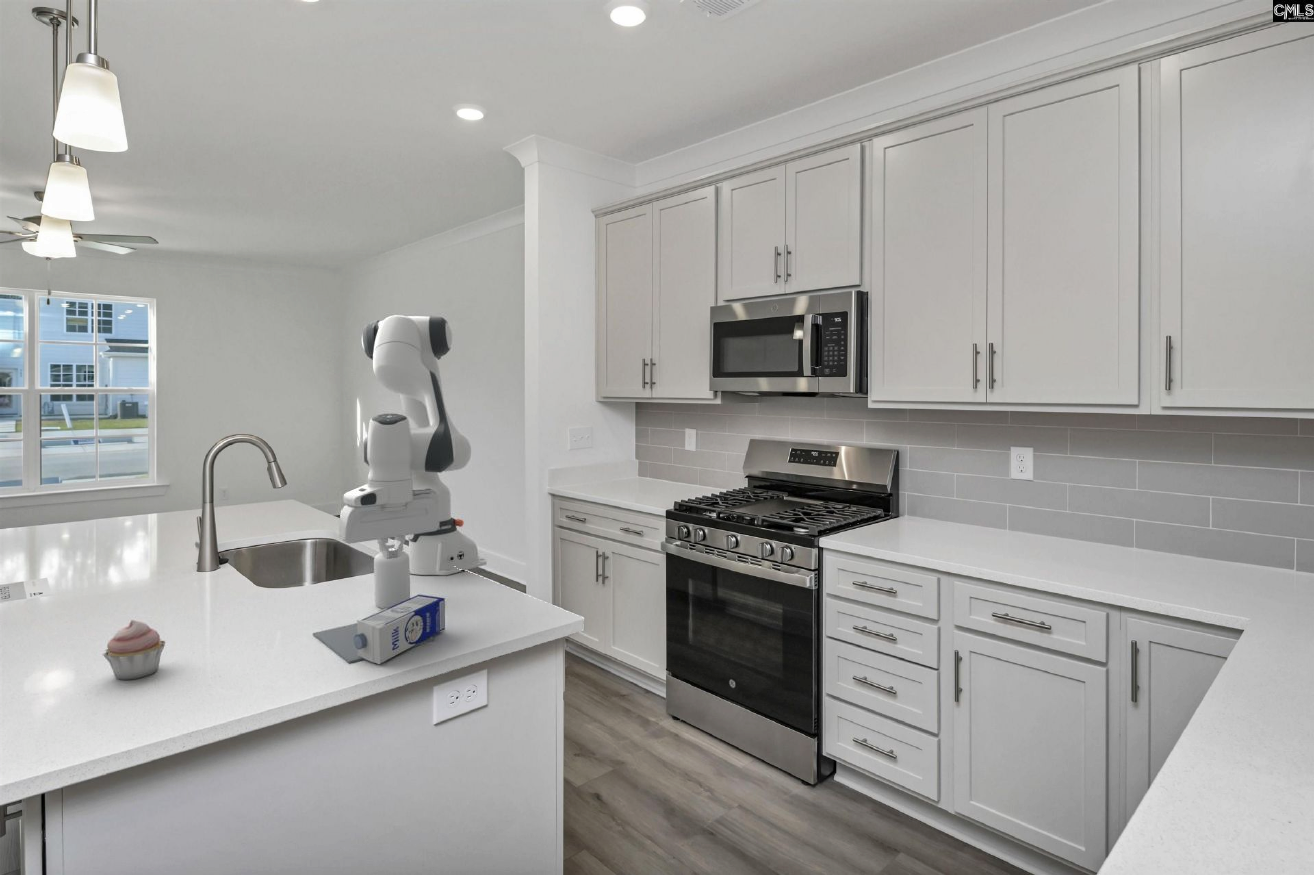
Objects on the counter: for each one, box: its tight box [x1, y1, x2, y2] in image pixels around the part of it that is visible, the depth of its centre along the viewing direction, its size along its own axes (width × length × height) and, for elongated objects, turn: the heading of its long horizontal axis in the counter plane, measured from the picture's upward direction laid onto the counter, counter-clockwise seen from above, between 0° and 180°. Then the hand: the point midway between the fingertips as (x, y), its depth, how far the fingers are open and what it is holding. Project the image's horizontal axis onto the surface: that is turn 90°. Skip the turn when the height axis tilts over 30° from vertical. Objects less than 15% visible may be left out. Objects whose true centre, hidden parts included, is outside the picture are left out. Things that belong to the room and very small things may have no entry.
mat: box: [312, 622, 434, 664], centre depth 148 cm, size 17×20×1 cm
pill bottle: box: [373, 539, 411, 609], centre depth 170 cm, size 8×8×15 cm
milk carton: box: [354, 594, 446, 665], centre depth 144 cm, size 7×7×20 cm
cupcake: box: [102, 619, 167, 681], centre depth 129 cm, size 9×9×10 cm
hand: (391, 557), depth 150 cm, fingers closed
